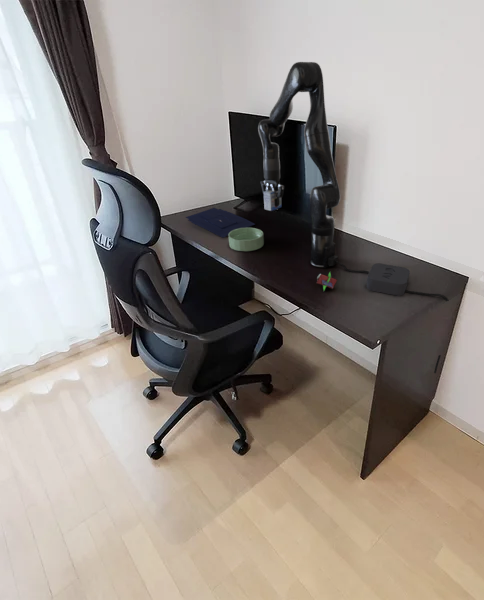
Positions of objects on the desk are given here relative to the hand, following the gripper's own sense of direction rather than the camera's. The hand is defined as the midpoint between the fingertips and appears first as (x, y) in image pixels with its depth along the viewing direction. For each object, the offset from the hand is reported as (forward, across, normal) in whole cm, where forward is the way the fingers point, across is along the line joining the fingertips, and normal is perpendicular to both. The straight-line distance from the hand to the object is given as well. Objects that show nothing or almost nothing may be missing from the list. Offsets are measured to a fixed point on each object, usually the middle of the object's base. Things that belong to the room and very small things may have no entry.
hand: (273, 204), depth 176 cm
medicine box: (+2, 0, 0) cm, 2 cm away
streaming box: (+16, +68, -7) cm, 70 cm away
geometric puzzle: (+16, +52, -25) cm, 60 cm away
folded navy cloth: (+16, -32, -8) cm, 37 cm away
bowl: (+16, -2, -17) cm, 23 cm away
